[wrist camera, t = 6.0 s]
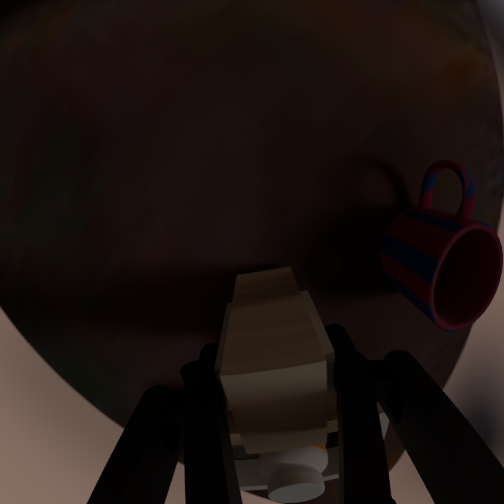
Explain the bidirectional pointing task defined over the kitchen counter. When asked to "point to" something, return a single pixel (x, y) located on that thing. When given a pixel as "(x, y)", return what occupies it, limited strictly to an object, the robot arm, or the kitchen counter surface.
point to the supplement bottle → (294, 473)
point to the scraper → (274, 367)
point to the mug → (443, 256)
